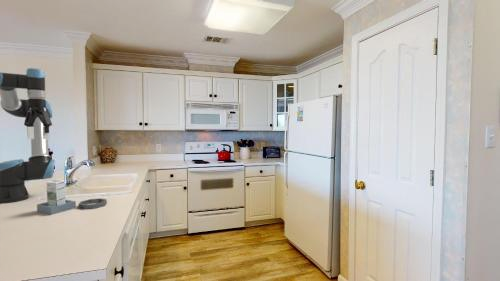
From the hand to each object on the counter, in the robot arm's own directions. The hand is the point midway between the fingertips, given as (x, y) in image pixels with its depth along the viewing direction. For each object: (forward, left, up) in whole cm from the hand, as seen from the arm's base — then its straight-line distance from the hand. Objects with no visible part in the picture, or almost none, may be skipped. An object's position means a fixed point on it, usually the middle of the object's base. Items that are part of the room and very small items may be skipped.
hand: (38, 139), depth 143 cm
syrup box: (+12, +1, -36) cm, 38 cm away
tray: (+12, +1, -37) cm, 39 cm away
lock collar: (+22, +14, -37) cm, 45 cm away
